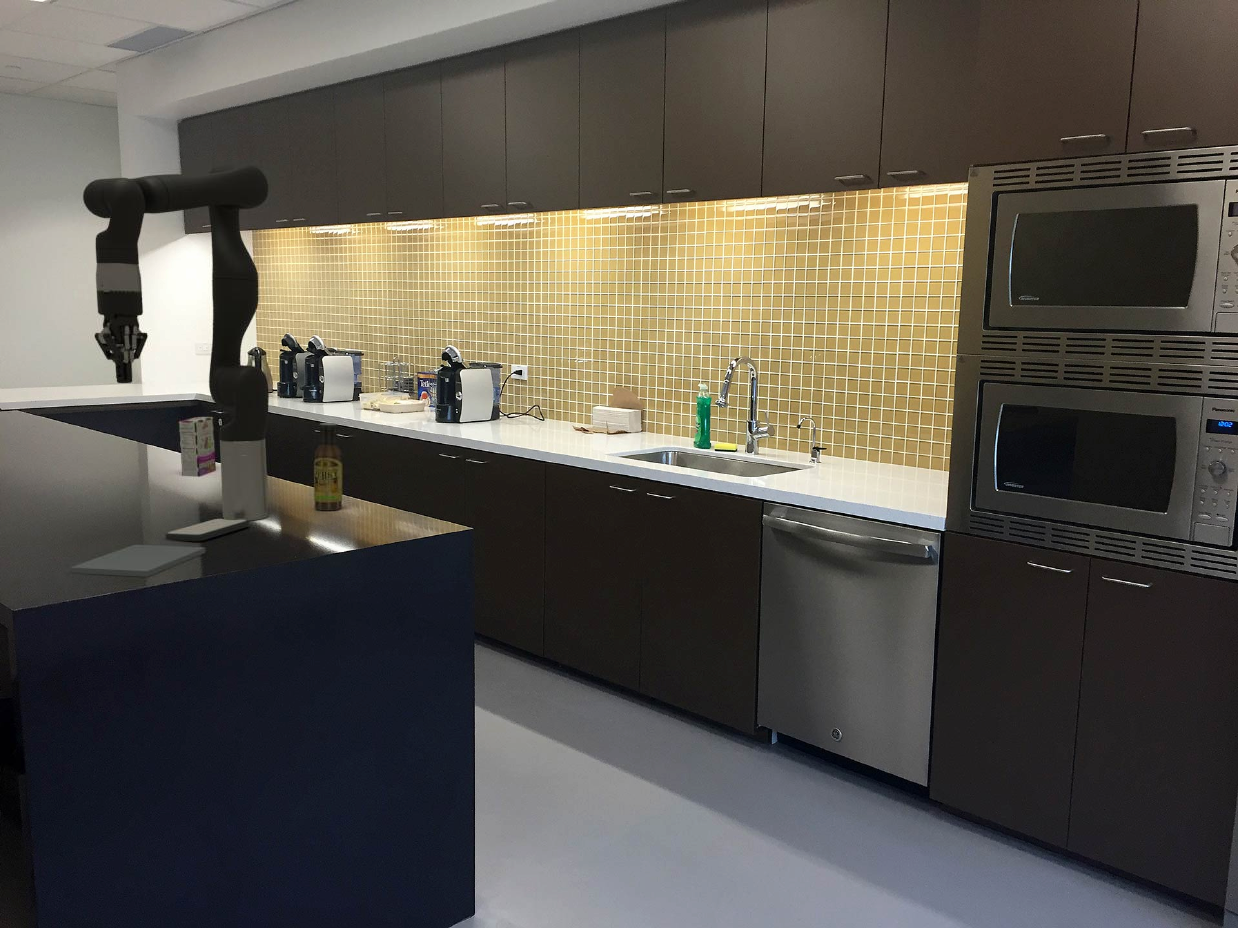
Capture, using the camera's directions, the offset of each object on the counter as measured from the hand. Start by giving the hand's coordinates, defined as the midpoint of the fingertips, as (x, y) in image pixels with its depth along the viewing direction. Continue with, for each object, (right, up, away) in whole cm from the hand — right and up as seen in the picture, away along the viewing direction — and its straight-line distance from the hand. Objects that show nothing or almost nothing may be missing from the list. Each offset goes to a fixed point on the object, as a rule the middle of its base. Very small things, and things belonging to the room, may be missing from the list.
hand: (124, 383), depth 184 cm
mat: (+8, -33, -10) cm, 35 cm away
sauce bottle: (+26, -26, +43) cm, 56 cm away
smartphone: (+7, -30, +7) cm, 31 cm away
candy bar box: (-22, -19, +85) cm, 90 cm away
